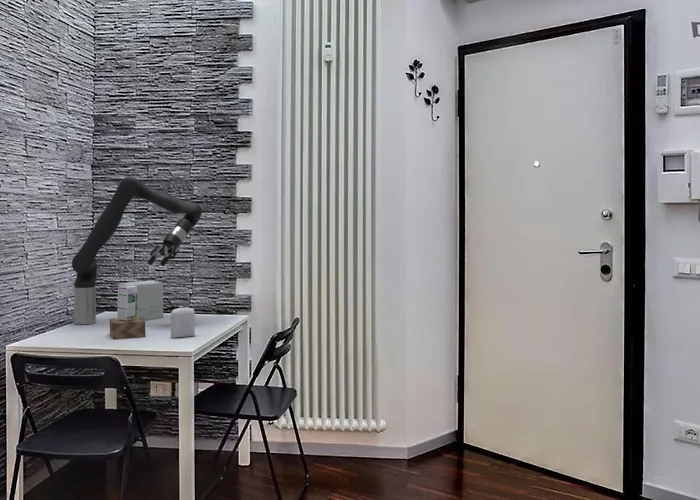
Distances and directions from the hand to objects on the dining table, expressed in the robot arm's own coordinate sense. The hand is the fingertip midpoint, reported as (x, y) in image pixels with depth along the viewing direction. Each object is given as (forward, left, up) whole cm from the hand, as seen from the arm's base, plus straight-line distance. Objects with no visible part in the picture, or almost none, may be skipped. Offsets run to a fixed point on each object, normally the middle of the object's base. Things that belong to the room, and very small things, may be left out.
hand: (155, 264), depth 304 cm
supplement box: (-8, +32, -30) cm, 44 cm away
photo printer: (+11, -23, -30) cm, 39 cm away
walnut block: (-12, -15, -30) cm, 35 cm away
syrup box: (-12, -14, -23) cm, 29 cm away
